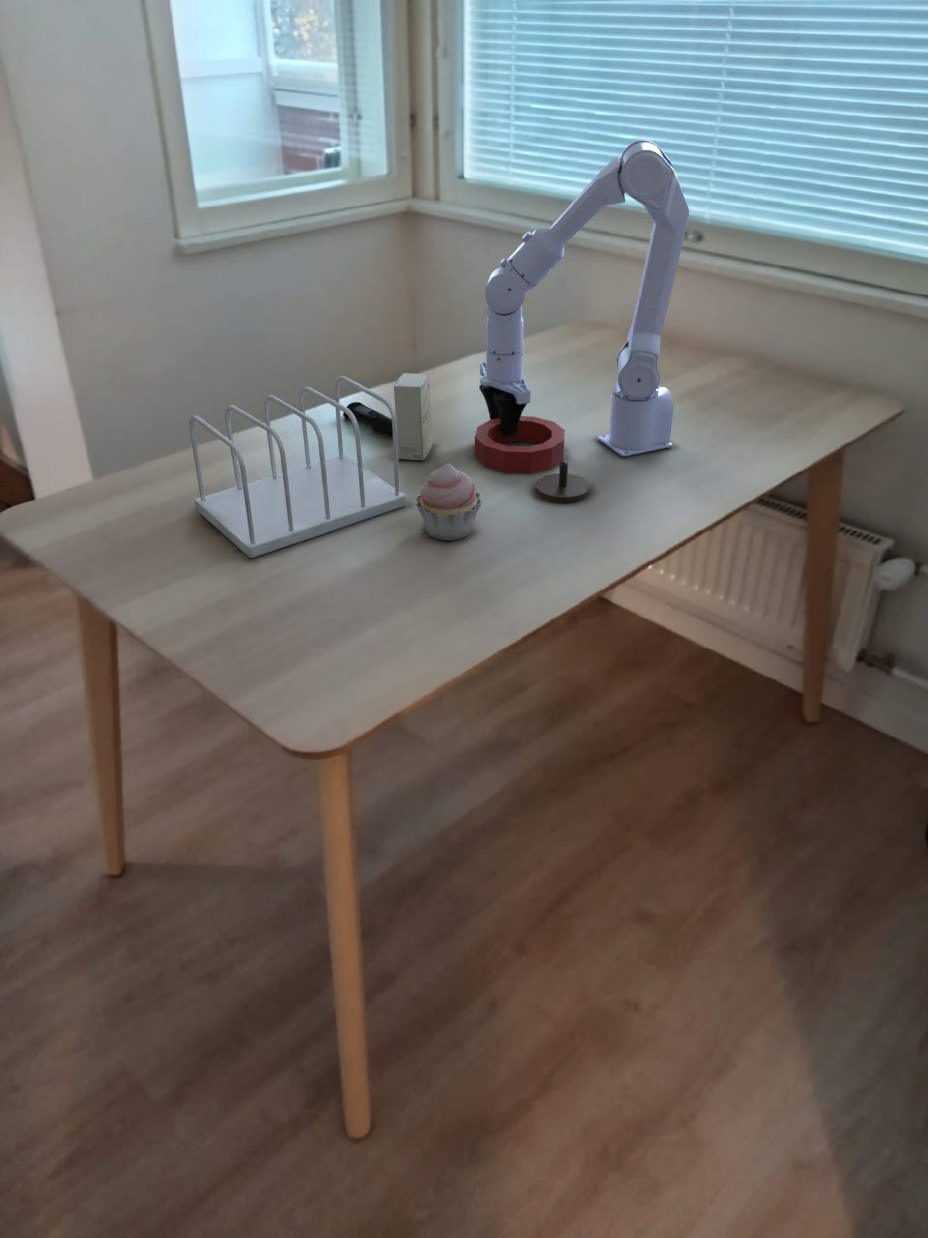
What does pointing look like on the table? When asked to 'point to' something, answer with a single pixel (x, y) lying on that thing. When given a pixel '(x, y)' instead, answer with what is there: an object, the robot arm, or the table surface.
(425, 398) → the cosmetic box
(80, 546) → the table surface
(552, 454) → the ring
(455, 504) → the cupcake
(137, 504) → the table surface
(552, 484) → the peg stand
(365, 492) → the file sorter
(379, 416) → the electric trimmer
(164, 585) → the table surface
